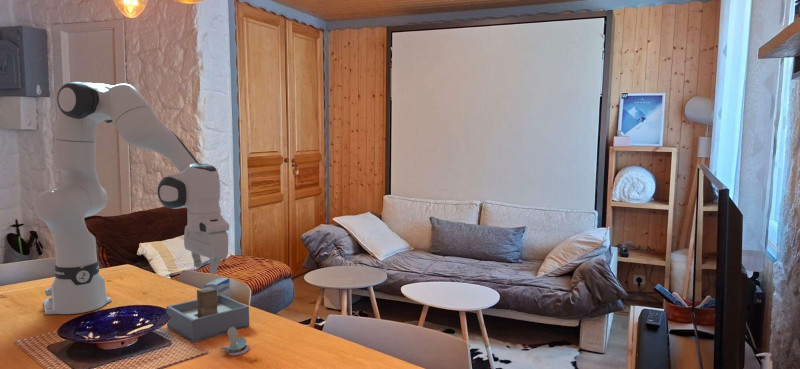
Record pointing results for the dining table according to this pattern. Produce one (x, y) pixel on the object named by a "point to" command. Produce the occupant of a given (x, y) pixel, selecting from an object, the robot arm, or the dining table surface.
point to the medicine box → (220, 286)
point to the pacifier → (234, 347)
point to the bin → (207, 319)
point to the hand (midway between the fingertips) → (205, 270)
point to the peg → (206, 301)
